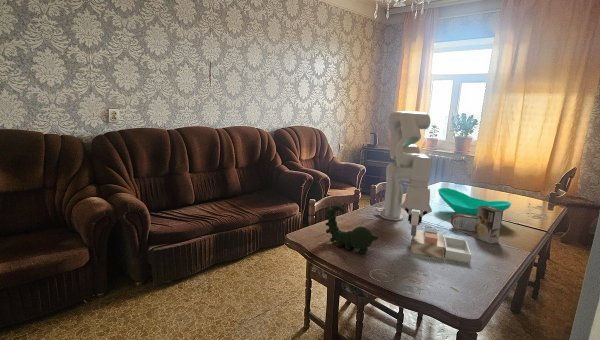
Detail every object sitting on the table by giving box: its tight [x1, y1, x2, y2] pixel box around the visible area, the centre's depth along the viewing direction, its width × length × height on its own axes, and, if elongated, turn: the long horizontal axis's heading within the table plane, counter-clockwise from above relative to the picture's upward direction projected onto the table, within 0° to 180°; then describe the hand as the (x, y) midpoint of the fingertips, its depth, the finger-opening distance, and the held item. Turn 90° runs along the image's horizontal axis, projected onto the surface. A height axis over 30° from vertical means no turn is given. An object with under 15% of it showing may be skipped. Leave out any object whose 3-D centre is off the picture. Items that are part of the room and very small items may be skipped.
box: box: [443, 235, 472, 265], centre depth 136 cm, size 10×16×4 cm, turn 159°
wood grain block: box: [410, 229, 445, 259], centre depth 140 cm, size 13×16×5 cm
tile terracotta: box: [424, 233, 438, 244], centre depth 136 cm, size 5×5×2 cm
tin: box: [450, 213, 477, 233], centre depth 164 cm, size 15×3×8 cm, turn 71°
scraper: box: [410, 209, 420, 237], centre depth 140 cm, size 3×16×8 cm, turn 159°
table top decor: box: [437, 187, 512, 216], centre depth 186 cm, size 40×28×13 cm
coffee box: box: [473, 205, 504, 244], centre depth 153 cm, size 9×6×16 cm
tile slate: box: [423, 227, 438, 236], centre depth 142 cm, size 5×5×2 cm
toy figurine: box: [324, 205, 379, 255], centre depth 135 cm, size 9×19×25 cm
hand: (414, 223), depth 140 cm, fingers closed on scraper, 3 cm apart
